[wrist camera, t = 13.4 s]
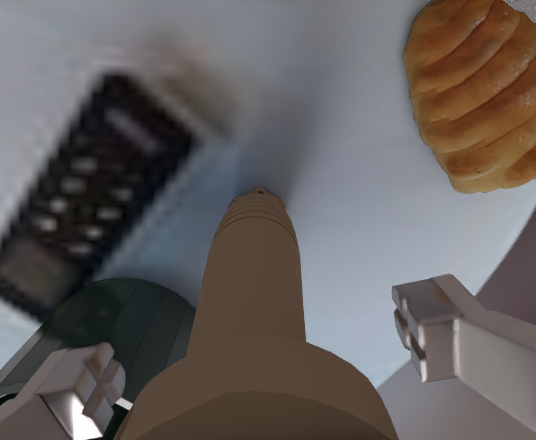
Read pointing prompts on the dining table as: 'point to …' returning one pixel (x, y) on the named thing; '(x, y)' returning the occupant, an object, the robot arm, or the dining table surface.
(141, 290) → the crock
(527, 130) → the pastry
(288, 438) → the handle
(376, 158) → the dining table surface
